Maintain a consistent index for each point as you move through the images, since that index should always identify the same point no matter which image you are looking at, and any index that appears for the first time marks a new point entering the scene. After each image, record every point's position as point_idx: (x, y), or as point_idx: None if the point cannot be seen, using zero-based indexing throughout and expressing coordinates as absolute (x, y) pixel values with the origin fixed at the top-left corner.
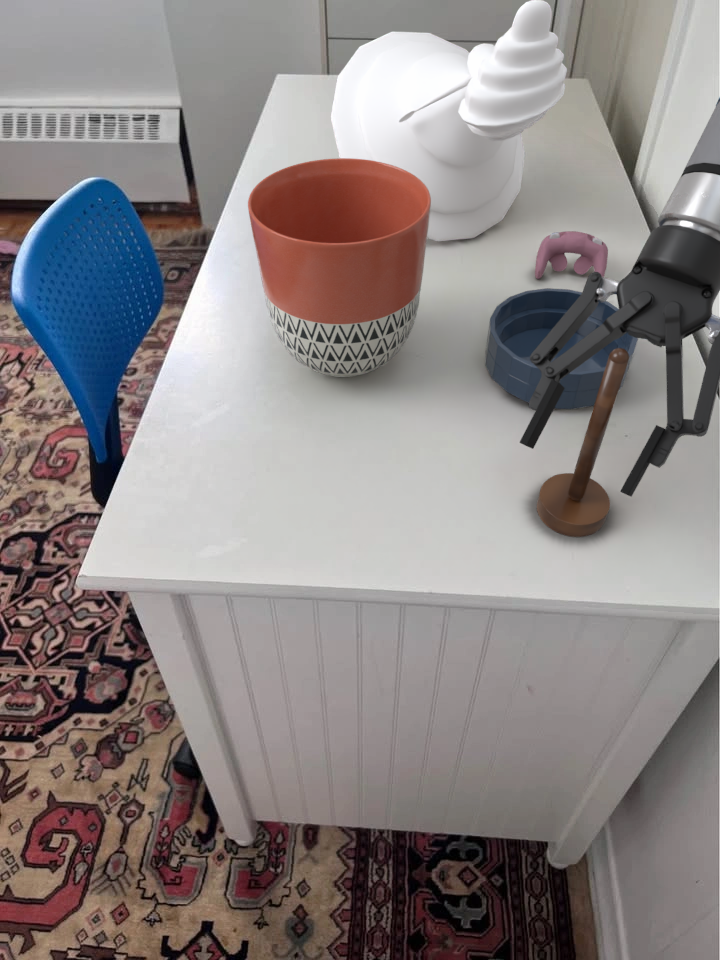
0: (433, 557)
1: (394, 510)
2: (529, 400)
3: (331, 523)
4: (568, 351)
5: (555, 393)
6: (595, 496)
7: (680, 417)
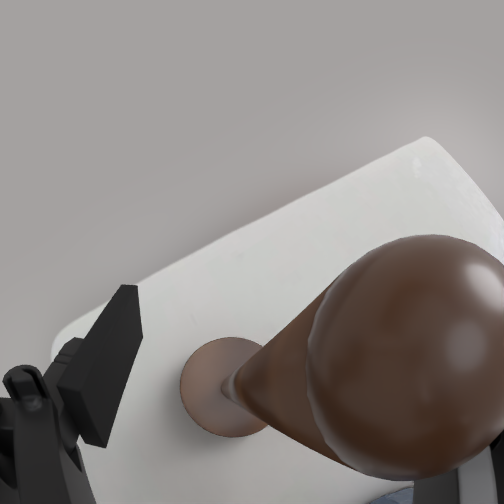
0: (317, 230)
1: None
2: (379, 499)
3: (400, 215)
4: None
5: None
6: (209, 409)
7: (17, 417)
